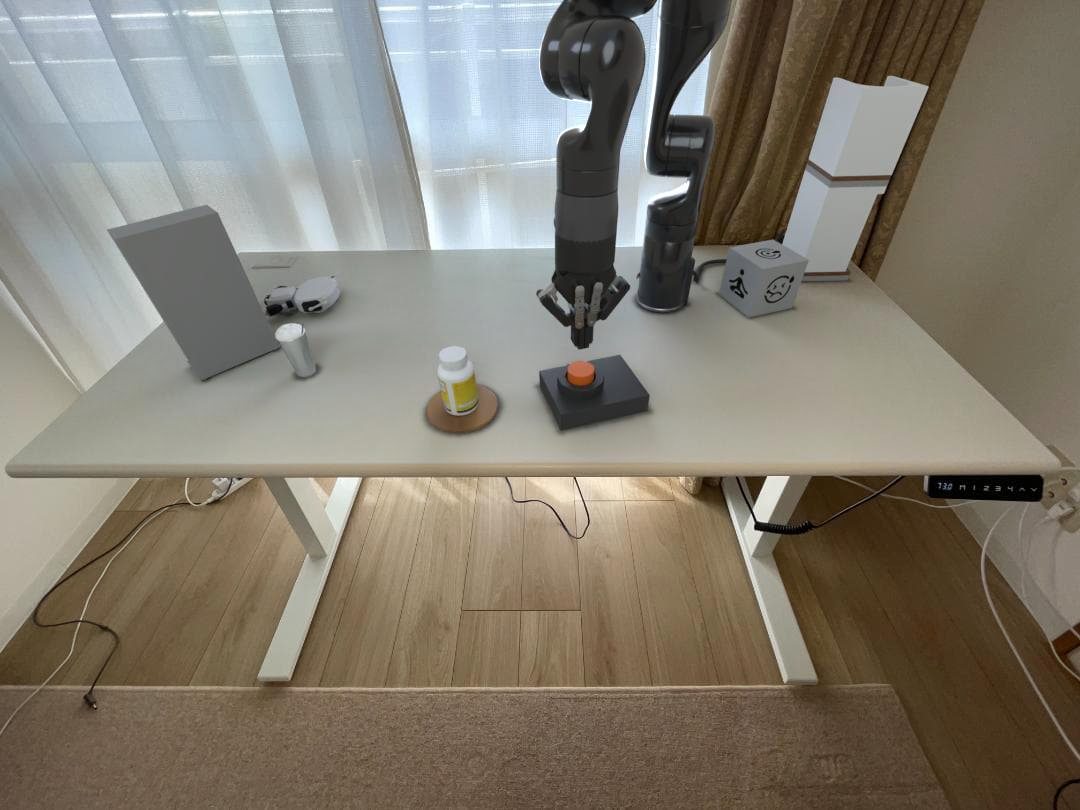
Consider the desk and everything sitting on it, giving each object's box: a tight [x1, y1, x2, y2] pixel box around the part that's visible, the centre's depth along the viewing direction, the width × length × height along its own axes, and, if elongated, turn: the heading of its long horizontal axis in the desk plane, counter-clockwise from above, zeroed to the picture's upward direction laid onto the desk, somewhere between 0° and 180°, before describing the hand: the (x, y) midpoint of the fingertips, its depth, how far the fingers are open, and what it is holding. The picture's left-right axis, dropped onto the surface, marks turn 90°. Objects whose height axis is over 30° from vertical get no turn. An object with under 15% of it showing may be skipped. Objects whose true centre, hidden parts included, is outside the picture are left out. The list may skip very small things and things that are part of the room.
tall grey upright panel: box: [106, 204, 281, 381], centre depth 81 cm, size 14×6×25 cm, turn 135°
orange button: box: [568, 360, 594, 386], centre depth 74 cm, size 4×4×2 cm
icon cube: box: [718, 239, 809, 318], centre depth 96 cm, size 10×10×10 cm
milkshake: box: [274, 322, 317, 378], centre depth 82 cm, size 4×5×10 cm
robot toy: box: [262, 273, 341, 318], centre depth 101 cm, size 12×4×15 cm
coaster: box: [426, 384, 499, 434], centre depth 76 cm, size 11×11×1 cm
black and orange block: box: [538, 354, 651, 431], centre depth 76 cm, size 14×11×5 cm
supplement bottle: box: [436, 345, 479, 416], centre depth 73 cm, size 5×5×10 cm
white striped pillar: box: [781, 75, 929, 282], centre depth 97 cm, size 11×11×35 cm
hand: (581, 345), depth 70 cm, fingers closed
